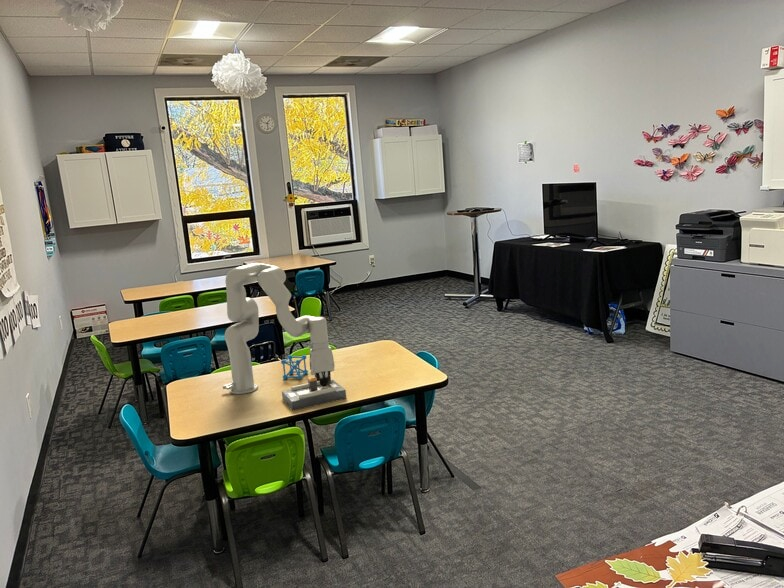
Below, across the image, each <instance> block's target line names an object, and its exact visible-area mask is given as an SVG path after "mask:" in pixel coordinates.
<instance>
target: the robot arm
mask: <svg viewBox="0 0 784 588" xmlns="http://www.w3.org/2000/svg"><path fill="white" fill-rule="evenodd" d="M286 279H287V274H286V273H285V270H284V269H283V268H281V267H279V266H277V265H271V264H267V263H266V264H265V263H260V262H254V263H253V262H252V263H249V264H244V265H241V266H237V267H234V268H232V269H230V270H229V271H228V272H227V274H226V276H225V281H224V282H225V288H226V289H225V290H226V314H227V319H228V320H229V321H230V322H233V323H234V324H231V325H230V326H228V327H227V328H226V330H225V332H224V339H225V343H226V346H227V350H228V357H229V362H230V371H231V381H230V383H228V384H222V390H227V391H228V390H229V391H230V393H231V394H234V395H244V394H250V393H253V392H255V391H257V390H258V389H259V386H258V385H259V384H256V383H255V379H254V373H253V371H254V370H253V364H252V355H251V351H250V347H249V346H248V344H247V342H248V341H251V340H254V339H255V338H256V337H257V336H258V333H259V331H260V330H259V327H260V324H259V323H260V322H259V314H260V312H259V306H258V304H257V302H256V301H255V299H254V298H252V297H247V292H246V291H247V290H246V288H245V287H244V286H245V285H249V284H253V283H258V285H259V286H260V288H262V290H263V292H264V293H265V295H267V296H268V298H269V299H270V301H271V302H272V304H273V305H274V306H275V312H276V317H277V320H278V323H279V324H280V326H282V329H284V330H285V332H286V333H287V334H288V335H289V336H291V337H293V338H298V337H301V336H303V335H305V334H309V336H310V342H309V343H310V344H308V345H307V348H308V349H310V350H309V370H310V375H311V376H315V375H317V376H318V377H319V380H320V385H321V386H323V387H324V386H327V377H328V375H329V373H330V374H331V373H332V372H334V371H335V367H336V365H335V359H334V353H333V350H332V347H331V346H330V345H329V335H328V333H329V332H328V324H327V319H326V317H324V316H311V315H308V314H307V315H302V316H300V317H297V318H295V316H294V315H293V313H292V312H291V310H290V307H289V303H290V300H291V298H292V293H291V292H290V291H289V289H288V288H287V287H286V285H285V282H286ZM322 372H323V376H322Z"/></svg>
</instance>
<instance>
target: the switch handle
mask: <svg viewBox="0 0 784 588" xmlns="http://www.w3.org/2000/svg"><path fill="white" fill-rule="evenodd" d="M307 381H308V382H307V383H308V385H309V390H310V391H315V390H318V389H317V378H316V377H315V375H312V376H307Z"/></svg>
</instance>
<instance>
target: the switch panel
mask: <svg viewBox="0 0 784 588" xmlns="http://www.w3.org/2000/svg"><path fill="white" fill-rule="evenodd" d="M317 389H318V390H315V391H310V390H309V385H308V382H307V383H303V384H299V385H292V386H290V388H289V389H284V390H281V396H282V400H284V401H285V402H286V403H285V402H284V401H283V402H284V403H285V404H286V405H287V406H288V408H289V409H290V408H291V409H292V410H294V411H299V410H302V409H306V408H311V407H316V406H319V405H324V403H325V404H328V402H329V403H333V402H337V400H338V401H341V399H342V400H346V399H347V391H346V388H344V386H342V385H340V384H339V383H338V382H336V380H334V379H331V380H330V381H327V386H324V387H323V386H321V385H320V381H317ZM315 405H316V406H315ZM291 409H290V410H291ZM292 410H291V411H292Z"/></svg>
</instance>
